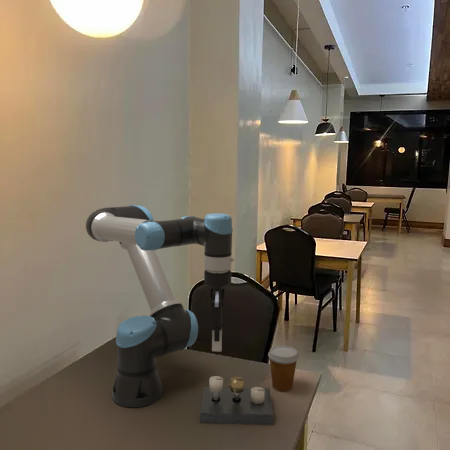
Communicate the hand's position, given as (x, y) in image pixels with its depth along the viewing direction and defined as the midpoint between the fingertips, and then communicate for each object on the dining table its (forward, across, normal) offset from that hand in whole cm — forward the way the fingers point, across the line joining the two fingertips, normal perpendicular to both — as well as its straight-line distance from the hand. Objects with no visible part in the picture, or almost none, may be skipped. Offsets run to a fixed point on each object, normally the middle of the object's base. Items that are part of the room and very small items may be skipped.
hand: (216, 350), depth 127 cm
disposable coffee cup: (+18, +14, -21) cm, 31 cm away
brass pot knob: (+15, 0, -6) cm, 16 cm away
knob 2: (+18, 0, -12) cm, 21 cm away
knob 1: (+15, 0, 0) cm, 15 cm away
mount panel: (+18, 0, -6) cm, 19 cm away
